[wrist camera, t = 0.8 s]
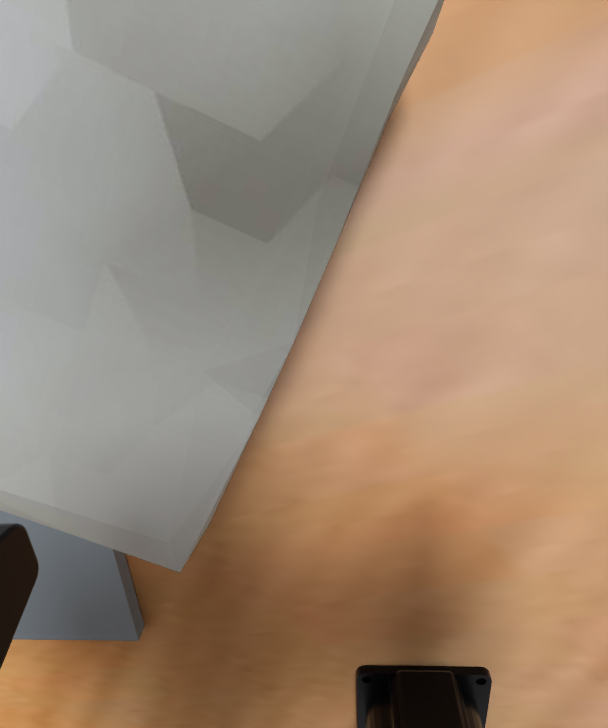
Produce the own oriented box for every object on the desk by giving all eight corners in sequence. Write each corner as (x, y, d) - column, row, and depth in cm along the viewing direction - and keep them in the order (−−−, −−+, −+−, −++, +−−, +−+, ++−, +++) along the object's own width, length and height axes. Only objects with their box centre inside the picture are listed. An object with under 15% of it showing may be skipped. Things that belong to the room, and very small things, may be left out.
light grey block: (432, 1, 14) (77, -193, 13) (488, -67, 10) (-51, -380, 8) (211, 491, 21) (-39, 401, 19) (183, 586, 16) (-146, 478, 15)
